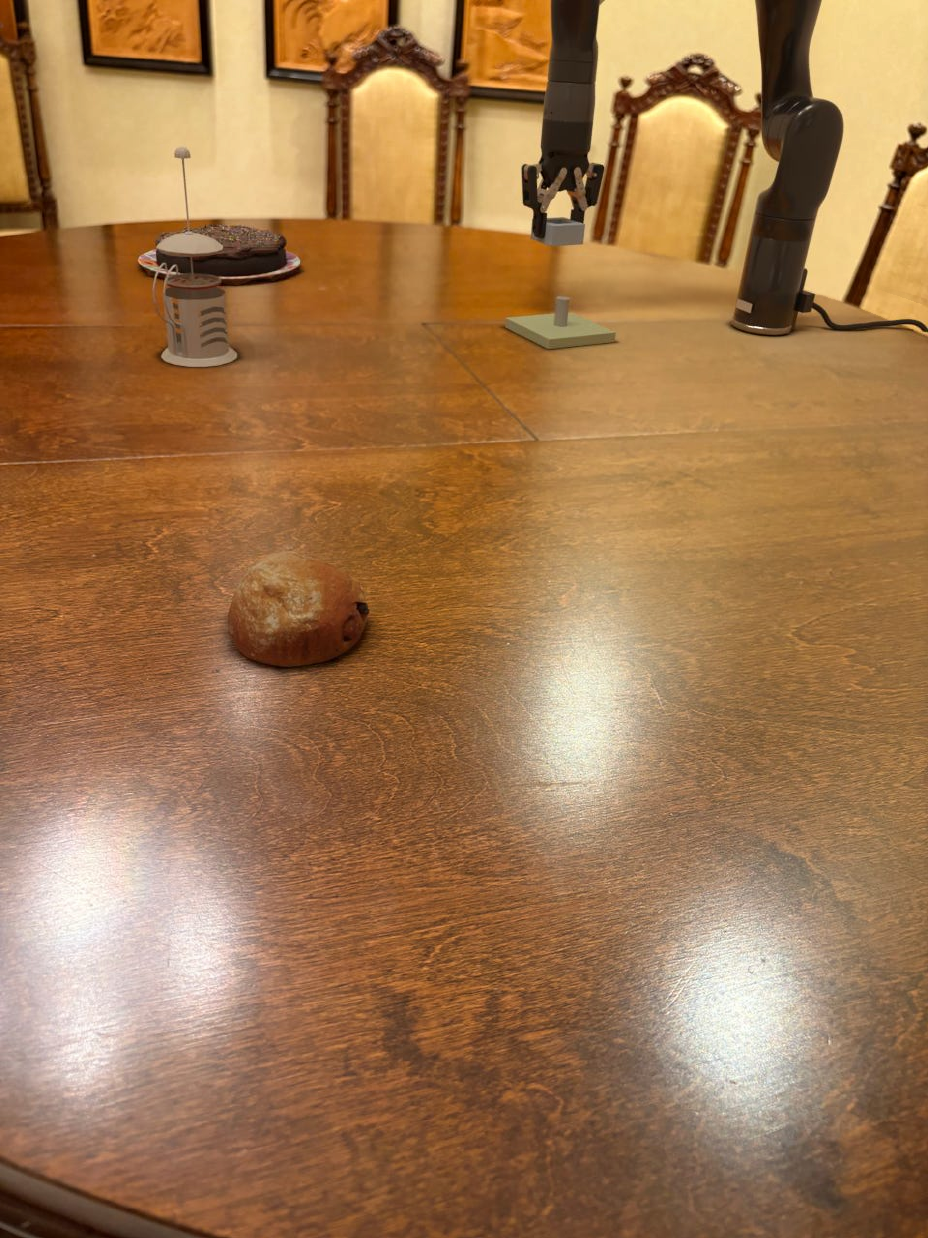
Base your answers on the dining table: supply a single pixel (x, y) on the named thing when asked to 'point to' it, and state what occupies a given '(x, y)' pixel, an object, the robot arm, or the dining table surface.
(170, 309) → the french press
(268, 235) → the chocolate cake
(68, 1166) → the dining table surface
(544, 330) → the green peg base
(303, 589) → the bread roll
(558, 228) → the gray rectangular block
